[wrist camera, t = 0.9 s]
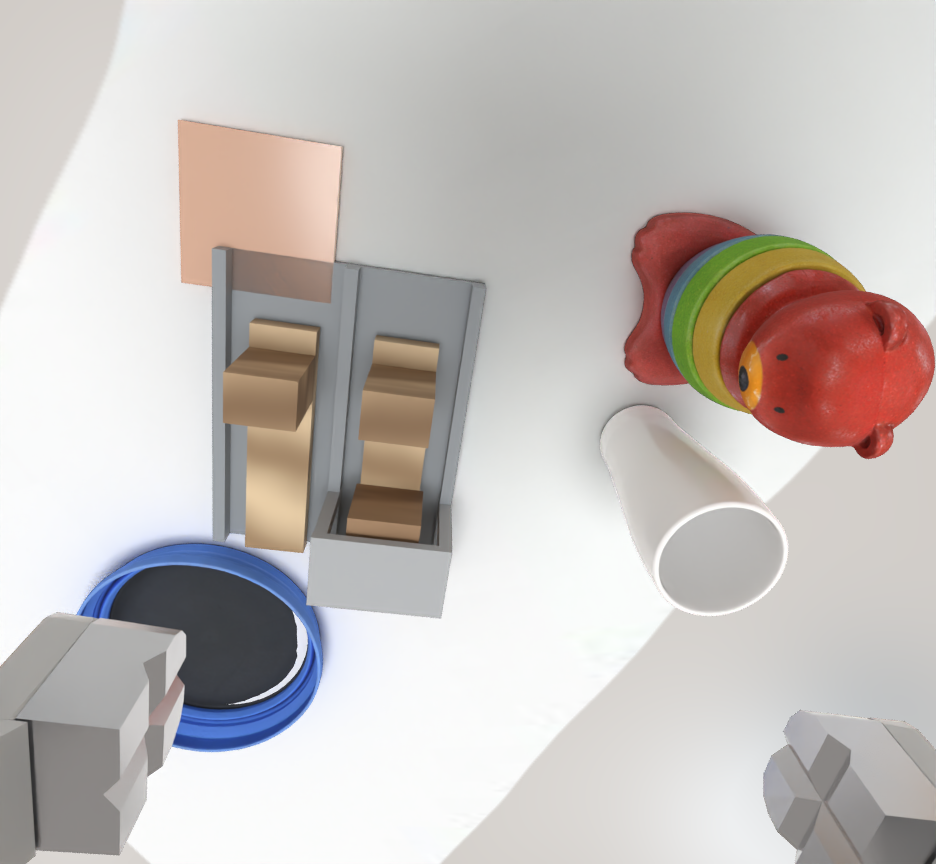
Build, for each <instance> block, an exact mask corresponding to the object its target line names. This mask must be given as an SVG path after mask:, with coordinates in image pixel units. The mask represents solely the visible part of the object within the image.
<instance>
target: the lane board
mask: <svg viewBox="0 0 936 864" xmlns="http://www.w3.org/2000/svg"><path fill="white" fill-rule="evenodd" d="M233 249H234V250H235V251H236V252H234V250H233ZM232 250H233V252H232ZM237 251H238V253H240V255H241V253H242V252H243V253H244V252H245V254H247V253H248V254H249V252H250V250H244V251H243V250H242V249H240V250H239V249H238V250H236V249H235V248H230V247H223V246H217V247H214V248H212V456H213V541H219V542H225V540H226V539H227V537H228V535H229V533H236V534H245V528H246V477H247V427H248V426H243V425H235V424H227V423H223V372H224V371H225V370H226V369H227V368H228V367H229V366H230V365H231V364H232V363H233V362H234V361H235V360H236V359H237V358H238V357H239V356H240V355H241V354H242V353H243V352H244V351H245V350H246V349H247V348H248V347H249V325H250V322H251V321H252V320H253V319H255V318H257V319H264V320H271V321H278V322H286V323H293V324H300V325H307V326H314V327H320V339H319V354H318V370H317V386H316V402H315V417H314V433H313V449H312V465H311V481H310V496H309V512H308V528H307V541H309V542H310V557H309V572H308V588H307V603H306V605H310V606H320V607H330V608H340V609H351V610H361V611H371V612H381V613H391V614H401V615H411V616H421V617H431V618H441V616H442V610H443V604H444V598H445V592H446V586H447V580H448V574H449V568H450V562H451V556H452V525H451V503H452V497H453V490H454V484H455V478H456V472H457V466H458V460H459V453H460V447H461V441H462V435H463V429H464V423H465V416H466V410H467V404H468V398H469V392H470V386H471V379H472V373H473V367H474V361H475V355H476V348H477V342H478V336H479V330H480V324H481V318H482V311H483V305H484V299H485V293H486V287H485V284H484V283H477V282H470V281H464V280H457V279H450V278H444V277H437V276H430V275H423V274H417V273H410V272H403V271H396V270H390V269H383V268H376V267H369V266H363V265H356V264H349V263H342V262H336V261H335V262H334V263H333V264H332V266H328V265H329V264H330V262H328V263H329V264H328V263H327V262H326V263H325V262H324V261H322V262H318V263H322V265H323V266H324V267H325V266H327V267H326V268H327V269H329V270H331V271H333V273H332V274H333V275H329V274H331V272H327V271H329V270H327V271H326V270H325V269H324V267H323V266H322V265H321V264H318V263H317V262H316V261H317V260H316V261H314V262H313V260H311V262H310V259H309V261H308V259H304V258H303V259H301V258H299V259H298V258H297V259H296V260H298V261H299V260H300V259H301V261H299V262H306V263H307V262H309V263H312V264H311V265H312V266H313V263H314V265H315V262H316V263H317V264H318V265H317V266H313V270H315V271H317V270H318V271H319V270H320V269H324V270H325V272H324V270H323V271H322V270H321V271H322V274H324V275H326V274H327V273H328V275H329V276H330V277H332V276H333V277H332V278H330V277H329V276H328V277H326V276H325V277H326V278H330V279H329V280H331V279H332V280H331V281H329V283H328V285H327V286H329V288H330V289H331V290H332V291H331V290H330V289H329V288H328V287H326V288H327V289H325V291H326V292H327V293H325V291H322V290H323V288H324V287H323V285H324V284H325V285H326V282H327V280H328V279H326V278H325V277H324V276H323V277H324V278H325V280H324V278H323V277H322V275H321V274H319V275H320V276H321V278H320V277H319V275H318V274H317V276H318V277H319V278H318V279H320V280H321V279H323V280H324V281H323V280H321V281H322V285H321V284H320V283H321V282H320V283H319V281H320V280H318V279H317V278H315V277H314V276H313V277H314V278H315V279H317V280H316V281H318V282H316V281H315V280H313V278H312V280H311V281H313V282H312V283H319V284H318V285H315V284H312V285H315V287H317V288H318V289H317V288H312V287H314V286H311V285H310V284H309V283H308V285H310V288H311V289H313V291H314V292H313V291H312V290H311V289H309V290H308V291H307V290H306V291H307V293H309V292H311V291H312V292H313V293H314V294H315V296H316V298H317V297H318V295H319V292H320V291H321V292H320V293H321V294H320V297H321V295H322V297H323V296H325V294H326V296H327V294H328V295H330V294H329V293H331V297H330V296H329V298H331V299H330V300H331V301H329V303H327V302H326V303H322V302H323V301H325V298H324V297H323V298H322V299H324V300H322V299H321V298H320V299H321V300H322V302H321V301H320V300H318V299H319V298H318V299H314V298H315V297H314V296H313V297H312V295H314V294H313V293H312V292H311V293H312V295H311V294H309V295H310V296H311V298H310V299H309V297H310V296H307V294H305V293H306V292H305V290H304V288H305V286H308V285H305V286H304V284H306V283H305V281H304V280H305V279H304V280H303V279H302V278H301V280H300V281H302V280H303V281H304V283H303V281H302V283H301V282H300V281H299V279H300V277H301V276H302V275H301V274H300V275H299V273H303V272H304V271H305V272H306V273H307V272H308V271H310V270H309V268H307V267H306V265H307V266H309V265H310V264H309V263H308V264H305V266H304V267H303V268H305V270H304V269H303V268H302V267H300V266H302V265H300V264H299V265H296V264H298V263H296V262H297V261H296V262H295V260H294V259H295V258H294V257H293V258H292V259H293V260H294V261H293V260H292V259H291V258H290V256H286V257H287V258H286V257H285V256H280V255H278V256H279V257H280V258H279V257H278V256H275V255H276V254H273V255H272V256H274V257H275V258H274V259H277V257H278V259H277V260H278V261H277V260H276V261H277V262H278V263H275V260H274V259H273V258H272V257H271V258H270V257H268V256H271V254H270V253H263V252H262V253H263V254H265V255H267V254H268V255H267V256H265V255H262V254H261V256H260V257H259V255H260V254H258V252H257V251H256V252H254V253H255V254H254V253H253V251H251V252H252V254H251V253H250V254H251V255H253V254H254V255H255V257H253V256H254V255H253V256H251V255H250V254H249V255H250V256H251V257H253V258H256V256H257V255H258V257H257V259H256V260H257V261H256V260H254V262H255V263H256V264H258V265H254V264H255V263H254V264H253V262H251V263H250V262H248V261H250V259H249V258H251V257H250V256H249V255H247V258H245V256H246V255H244V254H242V255H243V256H242V255H241V256H240V255H239V254H237V256H234V257H235V258H234V257H233V258H234V259H233V260H235V261H233V260H232V256H233V255H235V254H234V253H237ZM239 251H240V252H239ZM248 251H249V252H248ZM256 253H257V255H256ZM260 253H261V252H260ZM269 254H270V255H269ZM239 256H240V257H241V258H242V259H241V260H242V261H244V262H245V263H243V262H242V261H241V260H240V257H239ZM262 256H263V257H262ZM264 256H265V258H269V259H270V260H271V261H274V262H270V260H269V259H268V260H269V262H270V263H272V264H270V263H267V262H268V260H267V262H266V259H264ZM236 257H238V258H239V259H238V258H237V262H238V263H237V262H236ZM243 257H244V258H243ZM281 257H282V258H281ZM284 257H285V258H284ZM253 258H252V259H253ZM259 258H262V259H259ZM289 258H290V260H292V261H290V260H289ZM243 259H247V260H243ZM252 259H251V260H252ZM272 259H273V260H272ZM280 259H281V260H282V261H283V260H284V259H288V260H289V261H290V262H291V263H292V262H295V263H296V264H295V263H292V265H293V266H295V265H296V269H294V271H293V269H292V270H291V269H290V268H292V266H290V265H291V263H289V264H290V265H289V266H290V268H289V270H290V272H292V273H289V272H288V271H287V270H286V269H287V267H289V266H286V261H288V260H286V261H285V262H284V261H283V263H285V265H284V264H282V261H281V262H280ZM258 260H259V261H258ZM260 260H262V261H264V262H265V263H266V264H267V265H268V266H269V265H270V266H271V265H272V266H274V265H277V264H279V265H280V267H281V264H282V267H285V268H284V269H285V270H283V269H281V268H279V266H278V265H277V266H276V267H273V268H274V271H273V270H272V269H273V268H272V267H271V268H272V269H271V268H268V269H269V270H268V269H267V267H268V266H266V267H265V265H264V262H263V263H262V261H260ZM305 260H307V261H305ZM252 261H253V260H252ZM289 261H288V262H289ZM232 262H235V263H234V264H233V263H232ZM257 262H258V263H257ZM259 262H260V263H262V264H263V265H264V268H265V269H264V268H263V265H262V266H261V265H259ZM236 263H237V264H236ZM247 263H250V264H248V265H249V266H252V264H253V266H254V267H251V268H252V269H251V270H250V271H248V270H249V269H250V267H248V265H247ZM273 263H274V264H273ZM323 263H324V264H323ZM238 264H239V265H238ZM242 264H244V265H245V264H246V265H247V266H246V265H245V267H246V268H249V269H246V268H245V267H244V268H245V269H244V270H241V268H242V269H243V266H244V265H242ZM294 264H295V265H294ZM301 264H302V263H301ZM303 264H304V263H303ZM325 264H327V265H325ZM234 265H235V266H236V268H237V267H238V268H237V269H240V272H241V271H242V273H243V272H244V271H245V270H246V272H247V273H248V272H250V274H249V273H248V274H249V275H248V276H249V277H247V278H248V280H247V279H246V280H247V281H248V282H247V281H246V280H245V279H244V278H246V277H245V273H246V272H245V273H243V274H244V275H243V276H242V273H240V272H239V270H237V272H238V273H239V275H240V276H239V277H238V274H235V273H237V272H234V271H236V270H235V269H236V268H235V266H234ZM237 265H238V266H237ZM241 265H242V266H241ZM283 265H284V266H283ZM287 265H288V263H287ZM311 265H310V266H309V267H311ZM320 265H321V266H322V267H323V268H322V267H320ZM233 266H234V267H233ZM255 266H257V268H256V267H255ZM258 266H259V268H258ZM260 266H261V267H262V268H261V267H260ZM297 266H299V267H297ZM318 266H319V267H320V268H319V267H318ZM232 267H233V268H235V269H233V268H232ZM314 267H315V269H314ZM317 267H318V269H317V270H316V268H317ZM329 267H332V268H331V269H330V268H329ZM253 268H256V269H255V270H254V269H253ZM277 268H279V269H278V270H280V273H279V272H278V270H277ZM293 268H294V267H293ZM297 268H298V269H299V268H301V269H300V270H301V271H300V270H297ZM258 269H259V270H260V269H262V270H261V272H262V273H261V272H260V271H259V270H258ZM270 269H271V270H272V271H271V270H270ZM275 269H276V271H277V272H276V271H275ZM302 269H303V271H302ZM307 269H308V270H307ZM310 269H311V268H310ZM332 269H333V270H332ZM252 270H254V271H255V273H253V274H254V275H252V276H253V277H250V276H251V274H252V273H251V272H254V271H252ZM265 270H267V271H266V272H267V273H265ZM295 270H297V271H295ZM232 271H233V272H232ZM257 271H259V272H257ZM269 271H270V272H271V274H270V272H269ZM283 271H285V273H286V272H287V275H288V274H289V276H288V277H287V275H286V274H285V273H284V272H283ZM321 271H319V272H320V273H321ZM256 272H257V273H258V274H259V273H261V274H262V276H260V275H261V274H259V275H258V274H257V273H256ZM268 272H269V274H270V275H271V276H273V275H274V273H275V272H276V274H275V275H277V273H279V274H280V275H285V276H286V277H285V276H277V277H280V278H277V277H276V276H274V277H276V279H277V280H275V278H273V279H274V280H272V283H274V281H278V282H280V280H283V279H284V281H283V282H282V283H283V285H280V288H279V287H278V288H279V290H276V288H277V284H269V285H270V286H271V285H274V286H276V287H274V286H273V287H274V288H275V290H276V291H277V292H278V293H280V294H281V291H282V290H283V289H285V288H286V287H287V286H290V287H288V289H289V288H290V289H291V290H292V293H291V292H290V293H288V294H290V295H288V294H287V296H288V297H289V296H291V294H296V296H297V297H296V296H295V297H296V299H295V297H294V298H292V297H291V298H290V297H289V298H288V297H285V296H286V294H284V292H285V293H287V292H289V291H291V290H290V289H289V291H288V290H286V289H285V291H284V290H283V291H284V292H282V293H283V294H282V296H284V295H285V296H284V297H282V296H281V295H280V294H276V295H277V296H276V295H275V294H274V291H273V288H270V286H269V285H268V283H269V282H265V281H264V279H265V277H266V276H267V277H266V279H267V278H268V276H269V277H270V278H271V279H272V277H271V276H270V275H267V274H268ZM282 272H283V273H284V274H282ZM294 272H299V273H298V275H299V276H300V277H298V275H295V274H296V273H294ZM305 272H304V273H303V274H304V275H305V276H304V278H306V281H307V280H308V279H309V280H308V281H309V282H311V281H310V279H311V277H310V275H311V276H312V273H311V271H310V273H311V274H310V275H309V274H305ZM313 272H314V271H313ZM319 272H318V273H319ZM293 273H294V276H296V278H297V277H298V278H297V279H298V281H299V282H300V283H301V284H303V285H302V287H300V286H301V284H300V283H299V284H298V281H297V280H296V278H295V277H291V274H293ZM308 273H309V272H308ZM316 273H317V272H314V274H316ZM234 274H235V275H236V276H235V275H234ZM255 274H256V275H257V276H258V277H259V276H260V277H261V278H260V277H259V278H260V279H258V277H257V276H255ZM264 274H266V275H264ZM272 274H273V275H272ZM232 275H234V276H232ZM263 276H265V277H263ZM292 276H293V275H292ZM308 276H309V278H308V279H307V277H308ZM232 277H234V278H232ZM236 277H237V278H238V279H237V278H236ZM243 277H244V278H243ZM282 277H283V278H282ZM302 277H303V276H302ZM242 278H243V279H242ZM249 278H250V281H249ZM253 278H254V281H255V282H256V281H257V280H259V281H260V280H261V279H262V280H261V281H262V282H263V281H264V282H265V284H264V285H263V284H262V283H261V281H260V284H262V285H261V286H260V285H259V282H258V281H257V282H258V283H257V282H256V283H255V282H254V281H253ZM256 278H257V280H255V279H256ZM270 278H269V279H270ZM281 278H282V279H281ZM286 278H287V281H285V279H286ZM289 278H295V280H296V281H297V283H294V282H295V281H294V279H291V280H292V282H291V281H290V279H289ZM232 279H233V280H232ZM234 279H235V280H234ZM240 279H241V281H239V280H240ZM251 279H252V281H253V283H252V281H251ZM266 279H265V280H266ZM269 279H268V281H269ZM271 279H270V283H271ZM278 279H280V280H278ZM236 280H238V281H236ZM244 280H245V281H246V283H247V286H245V284H246V283H245V281H244ZM242 281H243V282H242ZM289 281H290V283H286V282H289ZM308 281H307V282H308ZM314 281H315V282H314ZM232 282H233V283H232ZM236 282H237V283H236ZM238 282H239V283H238ZM241 282H242V284H241ZM249 282H250V284H249ZM278 282H277V283H278ZM324 282H325V283H324ZM330 282H331V283H332V285H331V283H330ZM244 283H245V284H244ZM254 283H255V284H254ZM284 283H285V284H287V286H286V287H284V286H285V285H284ZM235 284H236V285H237V286H238V287H239V286H240V287H239V288H238V287H237V286H234V289H233V286H232V285H235ZM238 284H239V285H238ZM240 284H241V285H243V284H244V286H243V287H245V288H244V291H243V290H242V289H243V287H242V286H241V285H240ZM252 284H253V285H252ZM257 284H258V286H259V287H257V288H258V289H257V288H256V285H257ZM279 284H281V282H280V283H278V285H279ZM294 284H295V286H294ZM296 284H297V286H298V287H296ZM248 285H249V286H248ZM250 285H251V287H250ZM265 285H267V286H268V287H269V288H268V287H267V286H265ZM292 285H293V286H292ZM319 285H320V286H319ZM325 285H324V286H325ZM252 286H254V287H253V288H252ZM263 286H264V289H268V290H267V291H268V292H265V293H266V294H263V293H264V292H263V291H264V290H263V289H262V287H263ZM235 287H236V288H235ZM246 287H247V291H245V290H246ZM248 287H249V288H248ZM266 287H267V288H266ZM271 287H272V286H271ZM281 287H283V289H281ZM291 287H294V288H293V289H292V288H291ZM295 287H296V288H298V289H299V292H300V293H301V292H302V293H304V294H303V296H302V294H300V293H297V289H296V288H295ZM303 287H304V288H303ZM319 287H321V288H322V287H323V288H322V290H321V289H319ZM250 288H251V289H250ZM255 288H256V290H255ZM278 288H277V289H278ZM300 288H301V289H300ZM306 288H307V287H306ZM308 288H309V286H308ZM237 289H239V290H237ZM248 289H249V290H251V291H249V292H248ZM253 289H254V290H255V292H254V291H252V290H253ZM260 289H262V290H261V291H262V294H260V292H261V291H260ZM269 289H270V290H272V291H273V292H272V291H270V290H269ZM302 289H303V290H304V292H303V291H300V290H302ZM314 289H317V290H318V291H319V292H318V291H317V293H318V295H317V293H315V290H314ZM328 289H329V291H327V290H328ZM240 290H241V291H240ZM294 290H295V291H294ZM265 291H266V290H265ZM269 291H270V292H271V293H272V294H274V295H272V294H270V292H269ZM276 291H275V292H276ZM279 291H280V292H279ZM293 291H294V292H296V293H293ZM252 292H254V293H252ZM323 292H324V293H325V294H324V293H323ZM328 292H329V293H328ZM322 293H323V294H322ZM267 294H268V295H267ZM297 294H298V295H297ZM299 294H300V296H299ZM278 295H280V296H281V297H280V296H278ZM304 295H306V296H304ZM292 296H294V295H292ZM326 296H325V297H326ZM300 297H302V298H303V297H305V298H306V297H307V298H306V300H305V298H303V299H304V300H303V299H302V298H301V299H302V300H301V299H300ZM312 298H313V299H312ZM308 299H309V300H311V301H309V300H308ZM314 300H317V302H316V301H314ZM327 300H329V299H328V296H327ZM327 300H326V301H327ZM318 301H320V302H318ZM330 303H331V304H330ZM376 335H379V336H387V337H394V338H401V339H408V340H415V341H423V342H430V343H437V344H439V355H438V362H437V369H436V388H435V404H434V411H433V418H432V425H431V432H430V439H429V446H428V448H425V456H424V463H423V470H422V477H421V484H420V491H423V504H422V520H421V530H420V537H419V544H417V543H408V542H399V541H390V540H381V539H372V538H363V537H354V536H346V527H347V517H348V514H349V510H350V506H351V503H352V499H353V495H354V491H355V488H356V484H357V483H358V484H360V483H361V473H362V462H363V452H364V442H365V441H364V440H358V436H359V425H360V414H361V404H362V393H363V388H364V385H365V382H366V380H367V377H368V374H369V371H370V368H371V365H372V360H373V350H374V340H375V337H376Z"/></svg>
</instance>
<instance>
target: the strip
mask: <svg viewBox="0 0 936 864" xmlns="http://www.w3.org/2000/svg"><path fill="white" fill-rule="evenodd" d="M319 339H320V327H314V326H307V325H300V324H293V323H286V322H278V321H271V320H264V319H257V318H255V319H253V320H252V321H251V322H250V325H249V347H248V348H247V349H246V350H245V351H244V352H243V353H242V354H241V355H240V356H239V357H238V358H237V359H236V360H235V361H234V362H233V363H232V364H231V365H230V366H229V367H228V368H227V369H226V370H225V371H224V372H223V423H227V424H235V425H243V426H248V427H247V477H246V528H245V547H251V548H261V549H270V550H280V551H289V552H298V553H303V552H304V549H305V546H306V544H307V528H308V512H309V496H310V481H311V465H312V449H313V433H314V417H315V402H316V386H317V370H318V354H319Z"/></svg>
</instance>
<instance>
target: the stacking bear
mask: <svg viewBox="0 0 936 864" xmlns="http://www.w3.org/2000/svg"><path fill="white" fill-rule="evenodd" d="M632 263H633V265H634V267H635V269H636V271H637V273H638V275H639V277H640V279H641V283H642V286H643V291H644V305H643V311H642V315H641V318H640V320H639V323H638V324H637V326H636V328H635V329H634V331H633V332H632V333H631V335H630V336H629V338H628V340H627V342H626V344H625V348H624V351H625V354H626V359H625V366H626V368H627V369H628V370H629V371H630V372H632V373H633V374H634V376H635V377H636V378H637V379H638V380H639V381H641V382H643V383H646V384H651V385H680V384H687V383H689V384H690V385H691V386H692V387H693V388H694V389H695V390H696V391H698V392H699V393H700V394H702V395H703V396H705V397H706V398H708V399H710V400H712V401H714V402H716V403H718V404H720V405H723V406H725V407H728V408H731V409H734V410H738V411H742V412H745V413H748V414H752V415H753V416H754V417H755V418H756V419H757V420H758V421H759V422H760V423H761V424H762V425H764V426H765V427H766V428H768V429H769V430H771V431H772V432H774V433H776V434H778V435H780V436H782V437H785V438H787V439H790V440H792V441H796V442H799V443H802V444H807V445H812V446H823V447H844V446H852V447H854V448H855V450H856V452H857V453H858V454H859V455H860V456H861V457H863V458H865V459H872V458H876V457H879V456H881V455H883V454H884V453H885V452H887V451H888V450H889V448H890V447H891V445H892V443H893V437H894V435H893V429H894V428H895V427H897V426H898V425H899V424H901V423H902V422H903V421H904V420H905V419H907V418H908V416H909V415H911V414H912V413H913V412H914V410H915V409H916V408H917V407H918V405H919V404H920V402H921V401H922V400H923V398H924V396H925V395H926V393H927V391H928V389H929V387H930V384H931V382H932V378H933V375H934V368H935V358H934V351H933V346H932V344H931V340H930V337H929V335H928V333H927V331H926V330H925V328H924V326H923V325H922V324H921V322H920V321H919V320H918V319H917V318H916V316H915V315H914V314H913V313H912V312H910V311H909V310H908V309H907V308H906V307H904V306H903V305H901V304H900V303H898V302H896V301H895V300H893V299H890V298H888V297H885V296H882V295H879V294H875V293H871V292H866V291H865V289H864V287H863V286H862V284H861V283H860V282H859V281H858V280H857V278H856V277H855V276H854V275H853V274H852V273H851V272H850V271H849V270H847V269H846V268H845V267H844V266H842V265H841V264H840V263H838V262H837V261H836V260H834V259H833V258H832V257H831V256H830V255H828V254H827V253H825V252H823V251H822V250H820V249H818V248H817V247H815V246H813V245H810V244H808V243H806V242H803V241H800V240H798V239H794V238H790V237H784V236H778V235H756V234H754V233H753V232H751V231H750V230H748V229H746V228H744V227H742V226H741V225H738V224H736V223H734V222H731V221H729V220H726V219H723V218H720V217H715V216H711V215H706V214H698V213H669V214H663V215H659V216H656V217H654V218H652V219H651V220H650V221H649V222H648V224H647V226H646V227H645V228H643V229H641V230H640V231H639V232H638V233H637V235H636V237H635V248H634V249H633V251H632Z"/></svg>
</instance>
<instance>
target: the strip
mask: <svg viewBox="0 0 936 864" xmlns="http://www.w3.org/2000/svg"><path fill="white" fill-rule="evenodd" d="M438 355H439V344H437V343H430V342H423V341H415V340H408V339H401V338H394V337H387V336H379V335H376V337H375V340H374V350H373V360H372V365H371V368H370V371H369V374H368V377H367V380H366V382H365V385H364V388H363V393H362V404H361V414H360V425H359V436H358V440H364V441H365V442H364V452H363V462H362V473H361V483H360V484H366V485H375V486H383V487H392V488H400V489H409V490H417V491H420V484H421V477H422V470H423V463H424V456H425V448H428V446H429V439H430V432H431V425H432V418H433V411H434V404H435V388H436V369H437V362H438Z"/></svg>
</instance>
